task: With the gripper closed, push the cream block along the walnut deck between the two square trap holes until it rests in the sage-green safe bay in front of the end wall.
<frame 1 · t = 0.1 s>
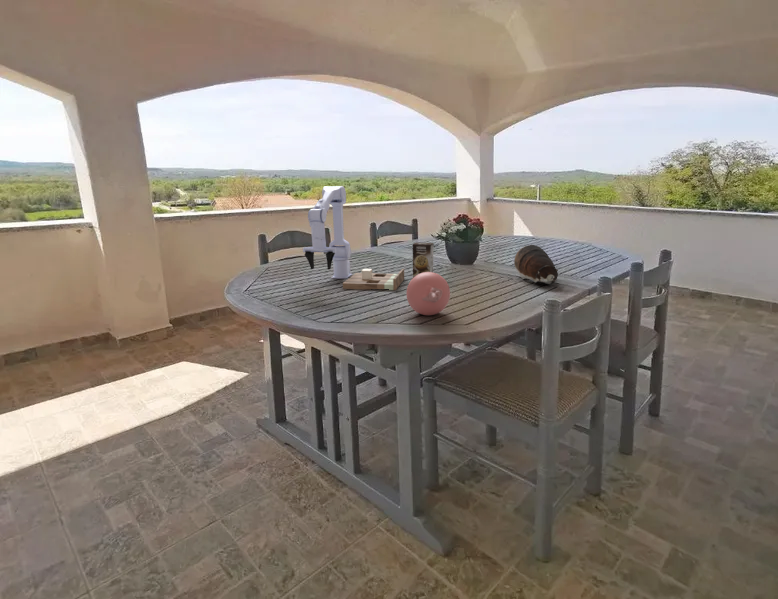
hand: (320, 268, 197), 10 cm above the table, tool pointing down, fingers open, 7 cm apart
deck: (374, 283, 210), on the table
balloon: (429, 316, 161), on the table
block: (367, 278, 210), point 2 cm above the table, touching deck
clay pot: (537, 282, 205), on the table
cookie box: (423, 276, 223), on the table
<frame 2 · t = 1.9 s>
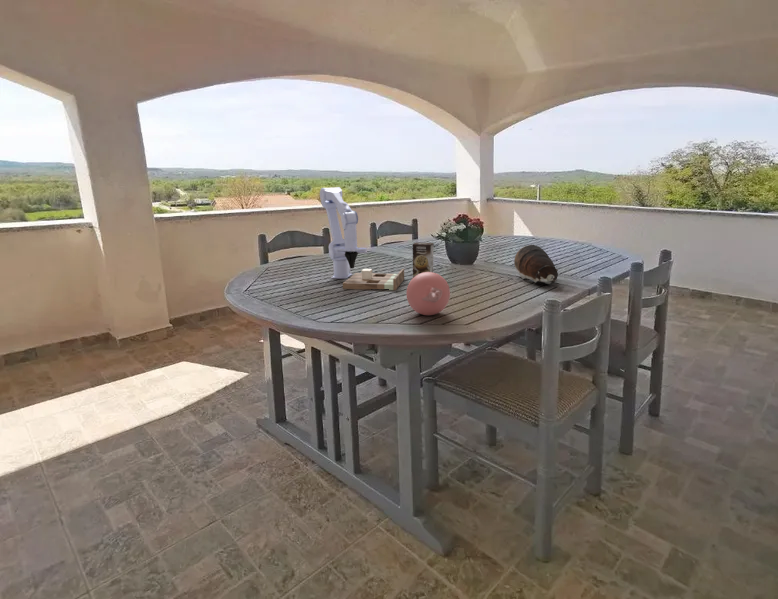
hand: (352, 268, 210), 7 cm above the table, tool pointing down, fingers closed
nothing on the table moved.
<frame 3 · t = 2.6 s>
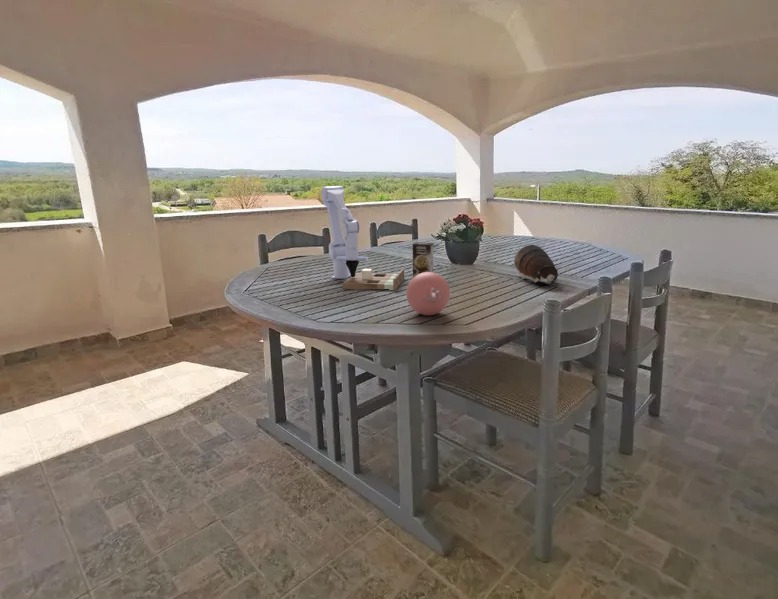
hand: (353, 276, 211), 3 cm above the table, tool pointing down, fingers closed
nothing on the table moved.
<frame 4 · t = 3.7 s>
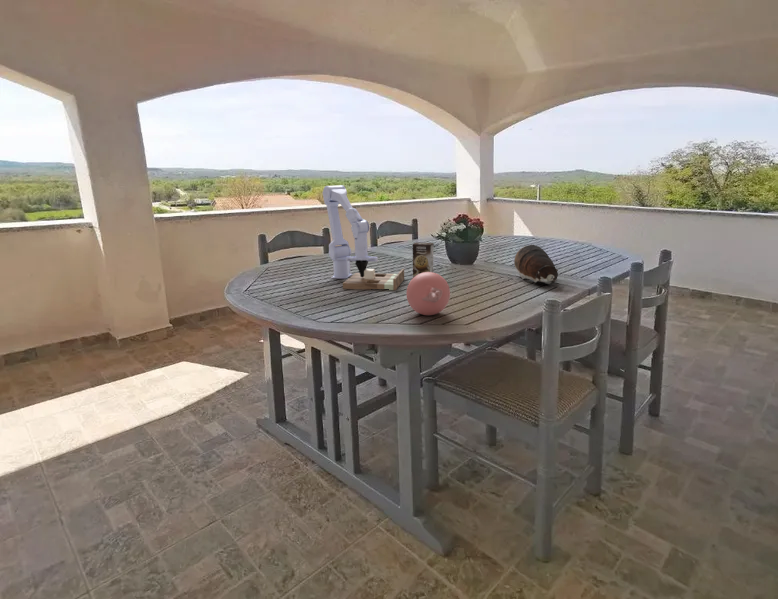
hand: (362, 276, 210), 3 cm above the table, tool pointing down, fingers closed
block: (369, 278, 210), point 3 cm above the table, touching gripper
everything else where it was.
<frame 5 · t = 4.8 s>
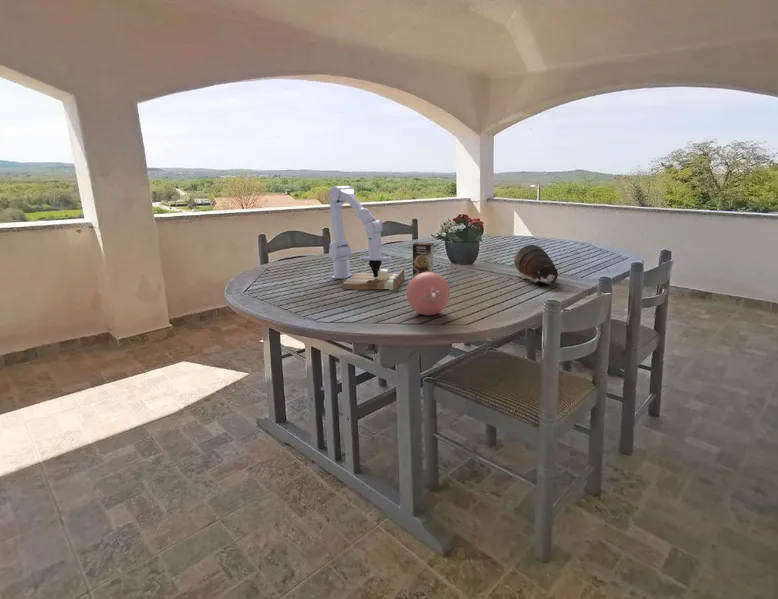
hand: (375, 276, 209), 3 cm above the table, tool pointing down, fingers closed
block: (383, 278, 208), point 3 cm above the table, touching deck, gripper
everything else where it was.
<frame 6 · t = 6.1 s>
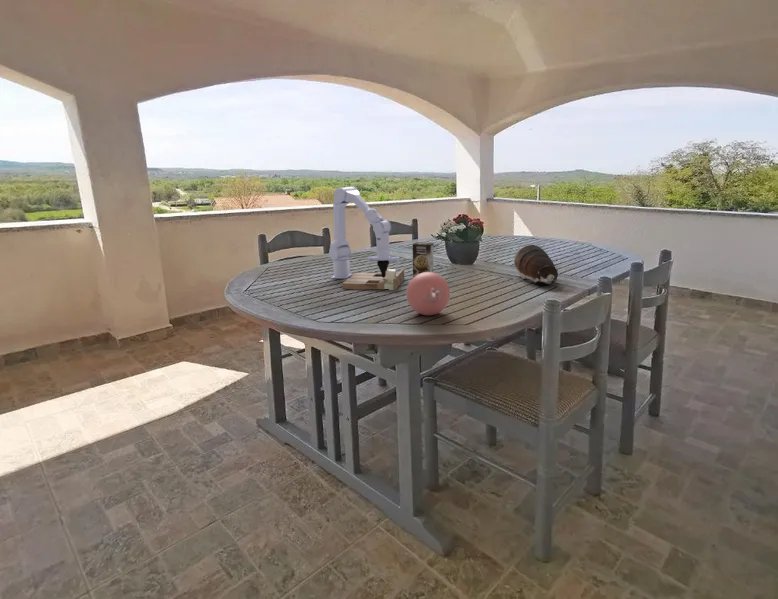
hand: (383, 277, 208), 3 cm above the table, tool pointing down, fingers closed
block: (391, 278, 207), point 3 cm above the table, touching deck, gripper
everything else where it was.
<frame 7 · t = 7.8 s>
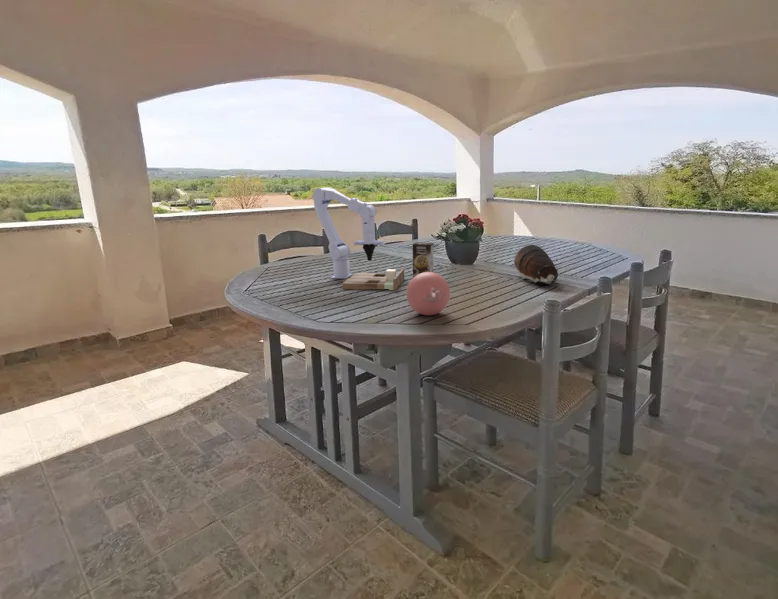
hand: (369, 260, 215), 9 cm above the table, tool pointing down, fingers closed
block: (391, 278, 207), point 2 cm above the table, touching deck
everything else where it was.
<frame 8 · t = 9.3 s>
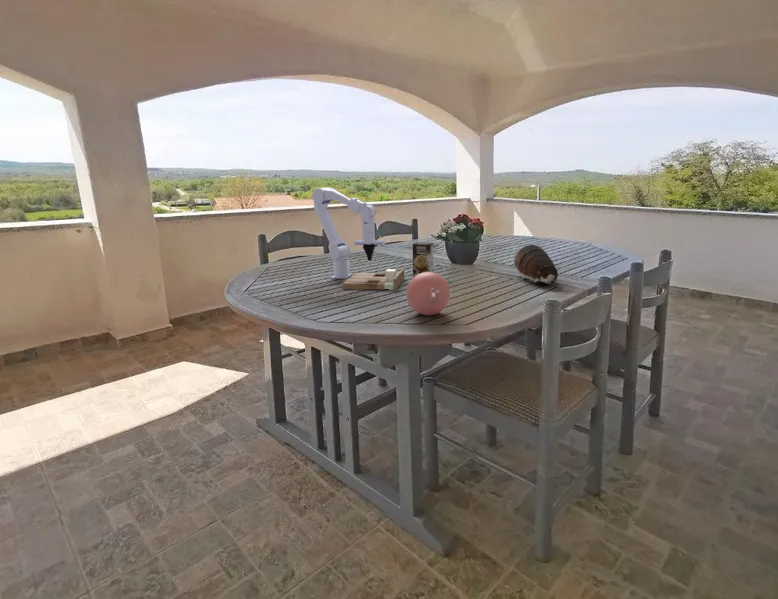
hand: (369, 260, 216), 9 cm above the table, tool pointing down, fingers closed
nothing on the table moved.
at the end: block 0.2 cm from the target spot on the deck, point 2.5 cm above the deck's base; block point 2.5 cm above the table; block tilted 0° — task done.
